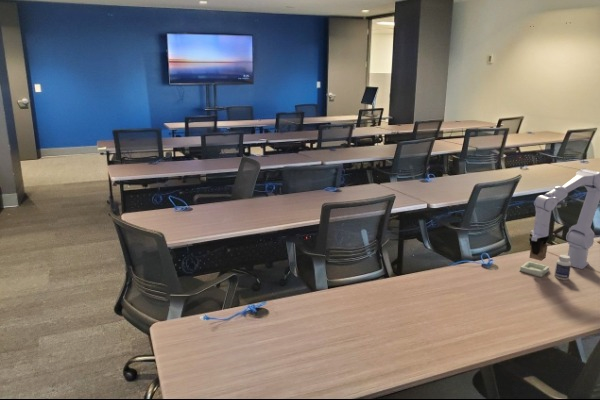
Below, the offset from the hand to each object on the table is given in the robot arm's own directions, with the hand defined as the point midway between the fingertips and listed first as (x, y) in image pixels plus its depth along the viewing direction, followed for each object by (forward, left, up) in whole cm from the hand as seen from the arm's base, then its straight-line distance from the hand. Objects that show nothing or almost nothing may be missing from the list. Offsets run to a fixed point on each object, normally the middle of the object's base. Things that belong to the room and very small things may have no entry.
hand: (537, 252), depth 199 cm
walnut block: (0, 0, -3) cm, 3 cm away
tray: (0, 0, -9) cm, 9 cm away
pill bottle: (-1, +10, -9) cm, 14 cm away
